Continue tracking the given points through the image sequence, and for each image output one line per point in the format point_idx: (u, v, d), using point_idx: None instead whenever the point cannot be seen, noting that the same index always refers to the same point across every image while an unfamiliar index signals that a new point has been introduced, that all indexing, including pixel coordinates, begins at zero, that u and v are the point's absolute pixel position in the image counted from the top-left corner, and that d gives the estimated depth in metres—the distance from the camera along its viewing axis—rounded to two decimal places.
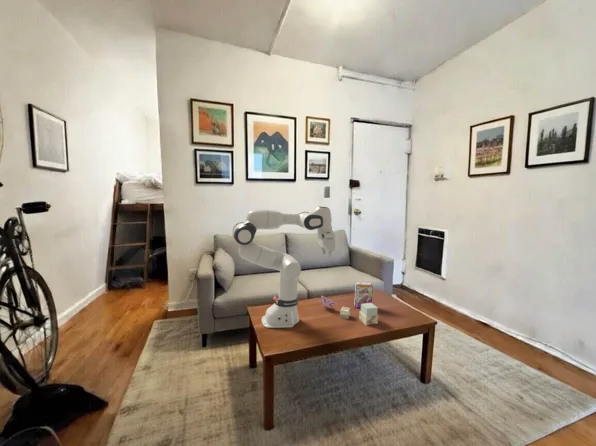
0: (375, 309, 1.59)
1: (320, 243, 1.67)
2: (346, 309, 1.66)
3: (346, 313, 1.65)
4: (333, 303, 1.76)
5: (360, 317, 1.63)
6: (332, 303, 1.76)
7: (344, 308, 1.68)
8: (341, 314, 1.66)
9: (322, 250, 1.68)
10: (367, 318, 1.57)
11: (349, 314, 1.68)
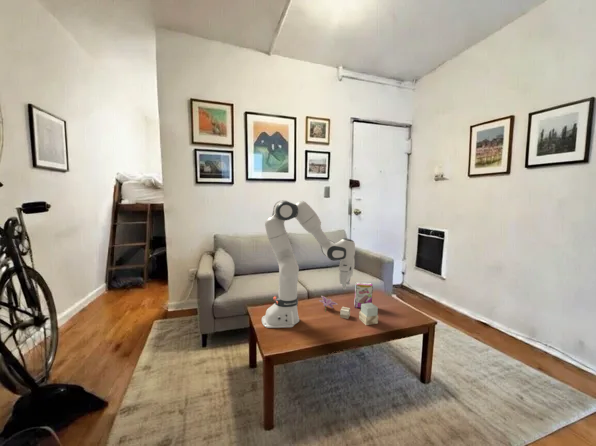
0: (375, 309, 1.59)
1: None
2: (346, 309, 1.66)
3: (346, 313, 1.65)
4: (333, 303, 1.76)
5: (360, 317, 1.63)
6: (332, 303, 1.76)
7: (344, 308, 1.68)
8: (341, 314, 1.66)
9: None
10: (367, 318, 1.57)
11: (349, 314, 1.68)
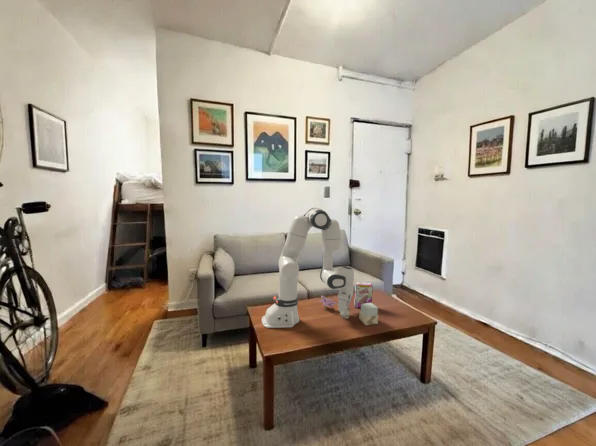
0: (375, 309, 1.59)
1: None
2: (346, 309, 1.66)
3: (346, 313, 1.65)
4: (333, 303, 1.76)
5: (360, 317, 1.63)
6: (332, 303, 1.76)
7: None
8: (341, 314, 1.66)
9: None
10: (367, 318, 1.57)
11: (349, 314, 1.68)
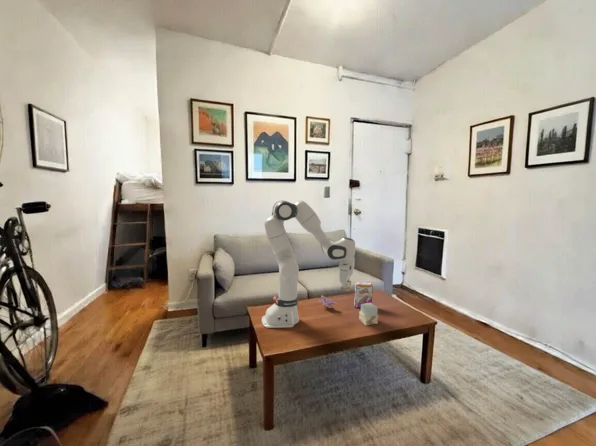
0: (375, 309, 1.59)
1: None
2: (347, 282, 1.64)
3: (347, 285, 1.63)
4: (333, 303, 1.77)
5: (360, 317, 1.63)
6: (332, 302, 1.77)
7: None
8: (342, 286, 1.64)
9: None
10: (367, 318, 1.57)
11: (350, 287, 1.66)
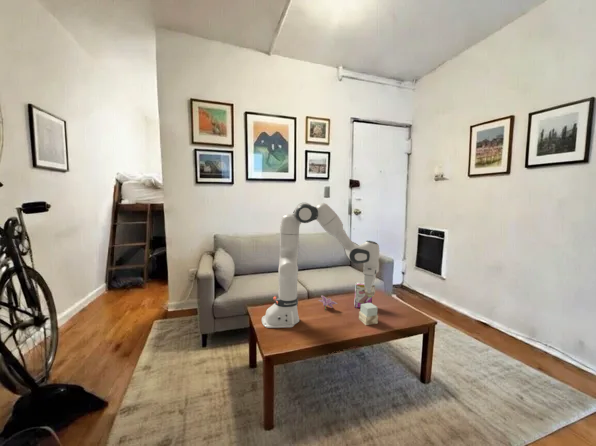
0: (375, 309, 1.59)
1: None
2: None
3: (372, 290, 1.57)
4: (333, 302, 1.77)
5: (360, 317, 1.63)
6: (332, 302, 1.77)
7: None
8: (366, 291, 1.59)
9: None
10: (367, 318, 1.57)
11: (374, 291, 1.60)
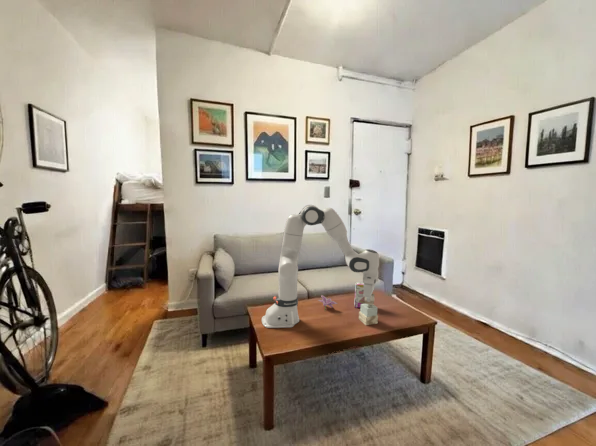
0: (375, 309, 1.59)
1: None
2: None
3: (371, 299, 1.58)
4: (333, 302, 1.77)
5: (360, 317, 1.63)
6: (332, 302, 1.77)
7: None
8: (365, 300, 1.59)
9: None
10: (367, 318, 1.57)
11: (373, 300, 1.61)
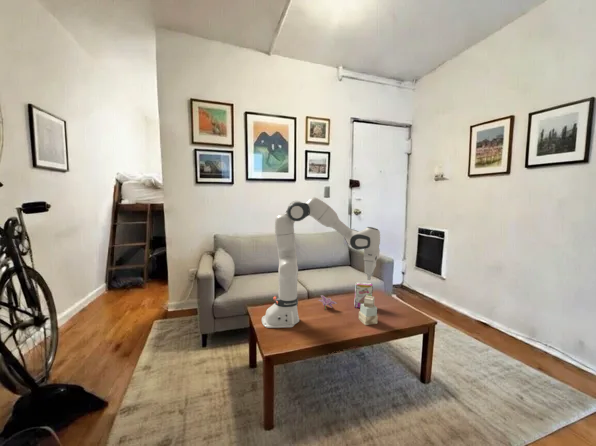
0: (375, 309, 1.59)
1: None
2: (370, 298, 1.59)
3: (370, 302, 1.58)
4: (332, 302, 1.77)
5: (360, 317, 1.63)
6: (332, 302, 1.77)
7: (368, 297, 1.61)
8: (365, 303, 1.60)
9: None
10: (366, 318, 1.57)
11: (373, 303, 1.61)
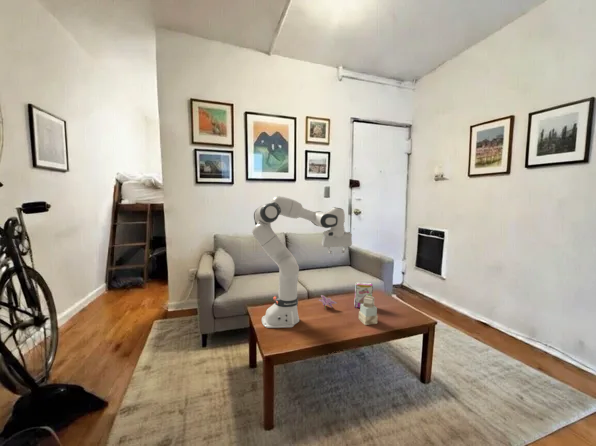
0: (374, 309, 1.58)
1: None
2: (369, 298, 1.59)
3: (370, 302, 1.58)
4: (332, 302, 1.78)
5: (359, 317, 1.64)
6: (331, 302, 1.78)
7: (368, 297, 1.61)
8: (364, 303, 1.60)
9: (343, 249, 1.79)
10: (366, 318, 1.57)
11: (373, 303, 1.61)
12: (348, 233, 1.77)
